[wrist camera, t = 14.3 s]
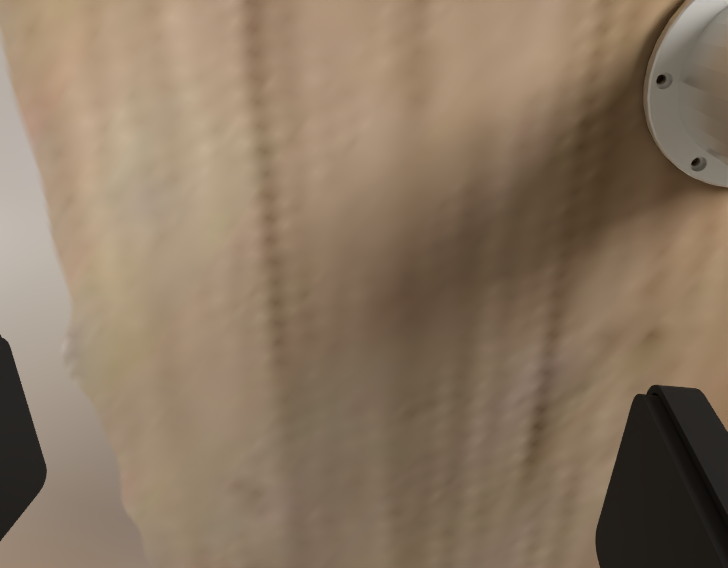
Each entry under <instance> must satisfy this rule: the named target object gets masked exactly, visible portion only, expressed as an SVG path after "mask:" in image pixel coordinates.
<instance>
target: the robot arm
mask: <svg viewBox="0 0 728 568" xmlns="http://www.w3.org/2000/svg"><path fill="white" fill-rule="evenodd" d="M659 75H663V77H664V79H663V81H662V82H661V83H656V80H657V77H658V76H659ZM643 106H644V112H645V117H646V122H647V126H648V128H649V131H650V133H651V135H652V137H653V140H654V142H655V144H656V145H657V146H658V148H659V149H660V150H661V152H662V153H663V154H664V156H665V157H666V158H667V159H668V160H670V161H671V162H672V163H673V164H674V165H675V166H676V167H678V168H679V169H680V170H682V171H683V172H685V173H686V174H687V175H689V176H691V177H693V178H695V179H698V180H700V181H703V182H705V183H708V184H711V185H716V186H722V187H727V188H728V0H685V1H684V3H683V4H682V5H681V6H680V7H679V9H678V10H677V11H676V12H675V13H674V15H673V16H672V17H671V18H670V20H669V21H668V23H667V25H666V26H665V28H664V30H663V31H662V33H661V35H660V36H659V38H658V40H657V42H656V44H655V47H654V49H653V52H652V54H651V57H650V59H649V62H648V66H647V71H646V76H645V81H644V95H643ZM695 158H697V161H696V162H695V163H694V164H691V163H692V161H693V160H694V159H695ZM46 473H47V469H46V464H45V461H44V457H43V454H42V451H41V447H40V444H39V441H38V438H37V434H36V431H35V428H34V424H33V421H32V418H31V414H30V411H29V408H28V404H27V401H26V398H25V394H24V391H23V388H22V384H21V381H20V378H19V375H18V371H17V368H16V365H15V361H14V358H13V355H12V351H11V348H10V345H9V343H8V342H7V341H6V340H5V339H4V338H2V337H1V335H0V541H1V539H2V538H3V537H4V536H5V535H6V533H7V532H8V531H9V530H10V528H11V527H12V526H13V525H14V523H15V522H16V521H17V520H18V518H19V517H20V516H21V514H22V513H23V512H24V511H25V509H26V508H27V507H28V506H29V504H30V503H31V502H32V501H33V499H34V498H35V497H36V496H37V494H38V493H39V492H40V490H41V489H42V487H43V485H44V482H45V479H46ZM596 552H597V557H598V561H599V565H600V568H728V432H727V431H726V429H725V427H724V426H723V424H722V423H721V421H720V419H719V418H718V416H717V415H716V413H715V411H714V410H713V408H712V406H711V405H710V403H709V402H708V400H707V398H706V397H705V395H704V394H703V393H702V392H701V391H700V390H698V389H696V388H685V387H674V386H662V385H653V386H651V387H650V389H649V390H648V392H647V394H646V395H645V394H638V395H636V396H635V397H634V399H633V402H632V405H631V409H630V412H629V416H628V419H627V423H626V426H625V430H624V433H623V437H622V441H621V444H620V448H619V451H618V455H617V458H616V462H615V465H614V469H613V472H612V476H611V479H610V483H609V486H608V490H607V493H606V497H605V500H604V504H603V508H602V511H601V515H600V518H599V522H598V525H597V529H596Z"/></svg>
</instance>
